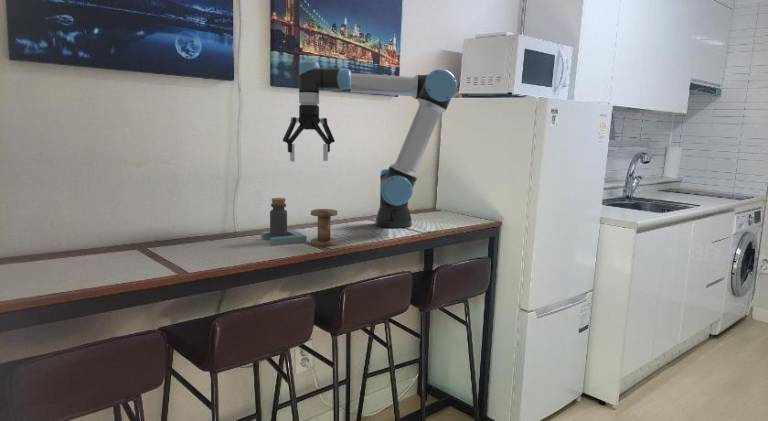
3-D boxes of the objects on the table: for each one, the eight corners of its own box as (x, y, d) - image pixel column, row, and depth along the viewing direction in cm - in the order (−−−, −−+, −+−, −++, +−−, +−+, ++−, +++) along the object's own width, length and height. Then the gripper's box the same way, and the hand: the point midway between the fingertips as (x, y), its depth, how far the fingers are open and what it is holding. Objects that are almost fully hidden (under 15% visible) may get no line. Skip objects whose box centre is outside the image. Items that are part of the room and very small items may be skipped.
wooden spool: (330, 240, 194) (330, 208, 192) (341, 245, 186) (341, 212, 184) (306, 242, 189) (306, 209, 187) (316, 247, 181) (317, 213, 180)
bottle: (266, 241, 189) (266, 198, 186) (277, 238, 194) (277, 197, 191) (280, 243, 186) (280, 200, 184) (290, 240, 191) (290, 198, 189)
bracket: (293, 236, 199) (293, 229, 199) (306, 242, 188) (306, 236, 188) (261, 238, 193) (261, 232, 193) (273, 246, 182) (272, 238, 182)
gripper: (335, 106, 214) (334, 160, 218) (273, 103, 202) (274, 160, 205) (343, 105, 208) (342, 161, 211) (280, 103, 196) (281, 162, 199)
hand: (309, 161), depth 208 cm, fingers open, 13 cm apart
